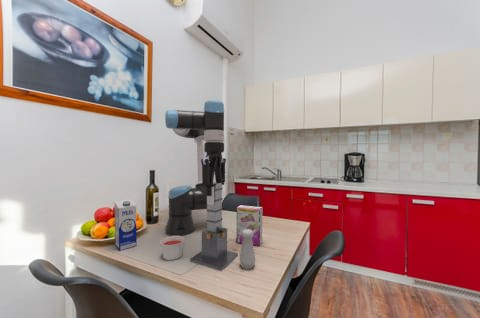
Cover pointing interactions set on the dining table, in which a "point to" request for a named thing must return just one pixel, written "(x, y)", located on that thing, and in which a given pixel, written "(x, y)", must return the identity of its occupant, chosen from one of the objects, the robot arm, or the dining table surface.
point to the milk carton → (125, 224)
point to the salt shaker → (247, 250)
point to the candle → (172, 247)
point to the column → (215, 210)
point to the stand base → (214, 250)
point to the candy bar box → (249, 223)
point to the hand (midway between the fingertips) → (214, 202)
